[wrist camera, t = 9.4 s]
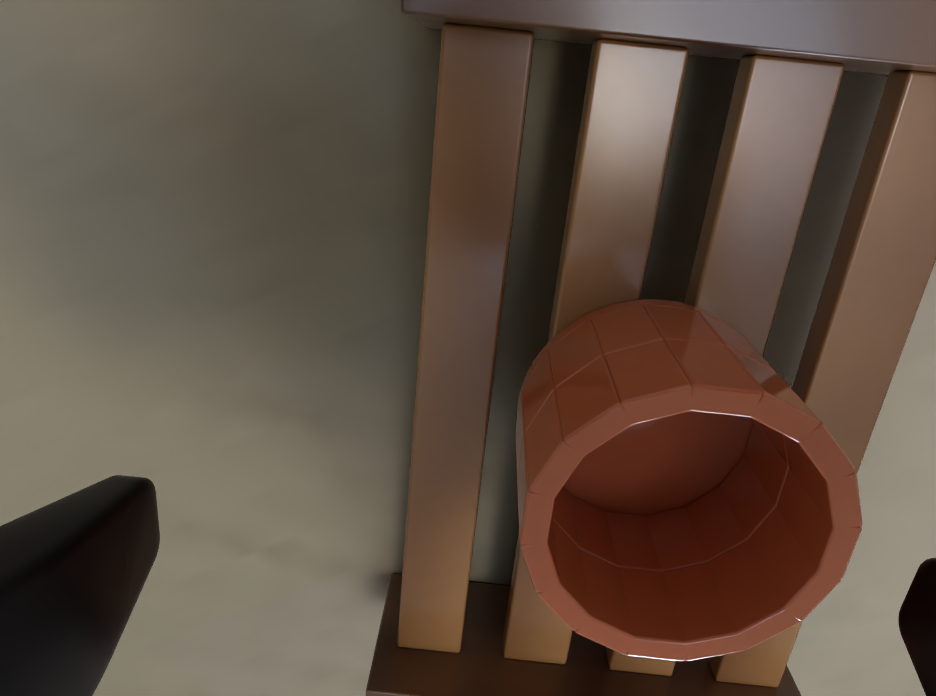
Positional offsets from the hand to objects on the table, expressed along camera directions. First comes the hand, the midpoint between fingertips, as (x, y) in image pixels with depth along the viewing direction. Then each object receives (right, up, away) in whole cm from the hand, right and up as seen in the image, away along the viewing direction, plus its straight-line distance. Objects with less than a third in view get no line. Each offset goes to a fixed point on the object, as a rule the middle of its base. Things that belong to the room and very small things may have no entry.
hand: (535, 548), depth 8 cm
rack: (+3, +2, +11) cm, 12 cm away
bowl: (+3, +1, +8) cm, 9 cm away
